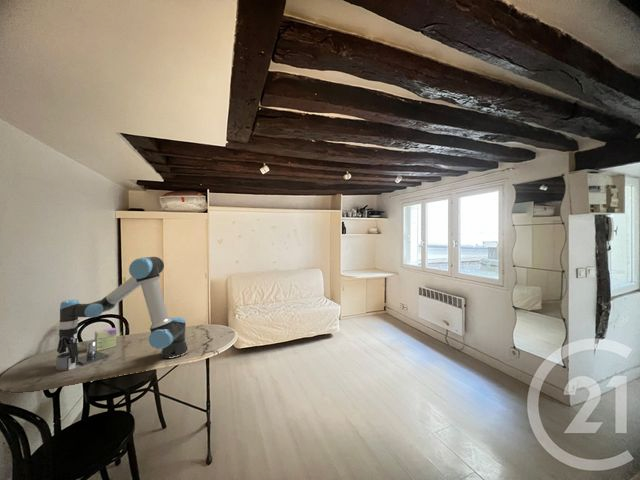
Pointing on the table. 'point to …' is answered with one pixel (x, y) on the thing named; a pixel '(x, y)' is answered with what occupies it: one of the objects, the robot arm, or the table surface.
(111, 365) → the table surface
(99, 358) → the shaft stand
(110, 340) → the box
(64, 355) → the hub
